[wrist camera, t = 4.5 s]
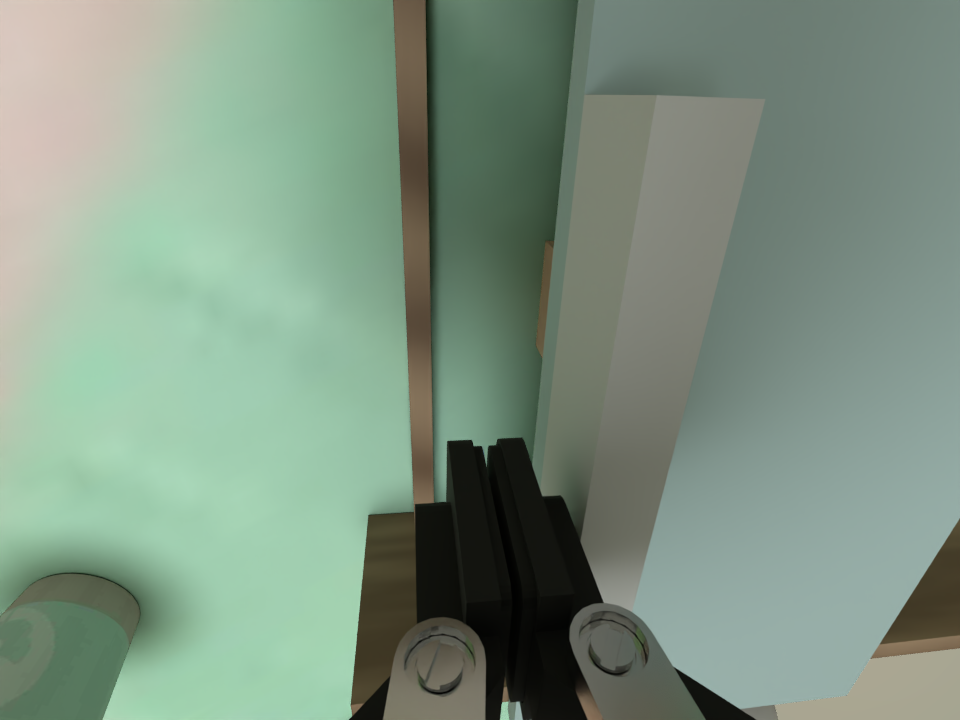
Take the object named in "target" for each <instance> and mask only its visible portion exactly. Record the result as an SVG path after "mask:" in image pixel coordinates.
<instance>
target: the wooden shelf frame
mask: <svg viewBox="0 0 960 720" xmlns="http://www.w3.org/2000/svg"><path fill="white" fill-rule="evenodd" d="M393 6H394V30H395V55H396V79H397V104H398V128H399V152H400V177H401V201H402V226H403V250H404V274H405V299H406V323H407V348H408V372H409V396H410V421H411V445H412V470H413V494H414V512H411V513H397V514H382V515H369V516H368V526H367V537H366V548H365V558H364V569H363V580H362V590H361V601H360V612H359V622H358V633H357V644H356V654H355V665H354V676H353V686H352V697H351V710H352V716H353V715H354V714H355V713H356V712H357V711H358V710H359V709H360V707H361V706H362V705H363V704H364V703H365V702H366V701H367V700H368V699H369V698H370V697H371V696H372V695H373V694H374V693H375V691H376V690H377V689H378V688H379V687H380V686H381V685H382V684H383V683H384V682H385V681H386V680H387V679H388V678H389V676H390V675H391V672H392V666H393V661H394V656H395V653H396V650H397V647H398V644H399V642H400V641H401V640H402V638H403V637H404V636H405V634H406V633H407V632H408V631H409V630H410V629H412V628H413V627H414V626H415V625H417V611H416V547H415V504H423V503H434V489H433V429H432V369H431V309H430V249H429V189H428V129H427V69H426V9H425V0H393ZM957 648H960V519H959V520H958V522H957V524H956V525H955V527H954V528H953V530H952V531H951V533H950V535H949V536H948V538H947V539H946V541H945V542H944V544H943V545H942V547H941V549H940V550H939V552H938V553H937V555H936V556H935V558H934V560H933V561H932V563H931V564H930V566H929V567H928V569H927V571H926V572H925V574H924V575H923V577H922V578H921V580H920V581H919V583H918V585H917V586H916V588H915V589H914V591H913V592H912V594H911V596H910V597H909V599H908V600H907V602H906V603H905V605H904V607H903V608H902V610H901V611H900V613H899V614H898V616H897V617H896V619H895V621H894V622H893V624H892V625H891V627H890V628H889V630H888V632H887V633H886V635H885V636H884V638H883V639H882V641H881V643H880V644H879V646H878V647H877V649H876V650H875V652H874V653H873V655H872V657H871V658H870V659H872V658H880V657H889V656H897V655H906V654H913V653H923V652H931V651H940V650H948V649H957ZM507 701H509V696H508V691H507V685H506V679H505V682H504V691H503V701H502V702H507Z"/></svg>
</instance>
